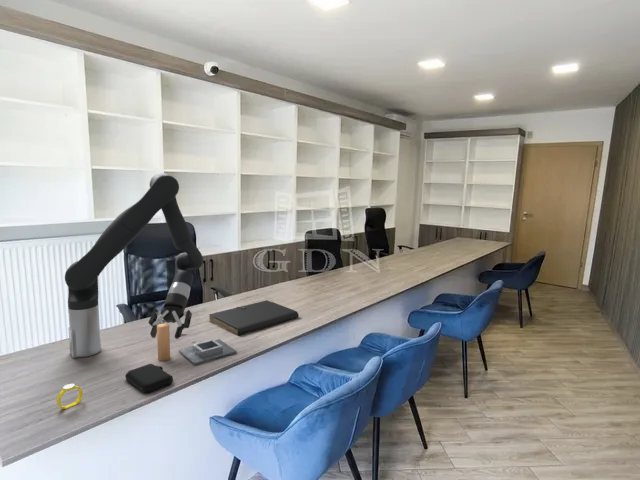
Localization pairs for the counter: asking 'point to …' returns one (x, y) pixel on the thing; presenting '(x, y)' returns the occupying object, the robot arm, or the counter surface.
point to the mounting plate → (207, 351)
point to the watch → (67, 388)
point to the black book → (252, 317)
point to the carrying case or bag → (149, 378)
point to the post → (163, 342)
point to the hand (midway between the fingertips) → (164, 337)
